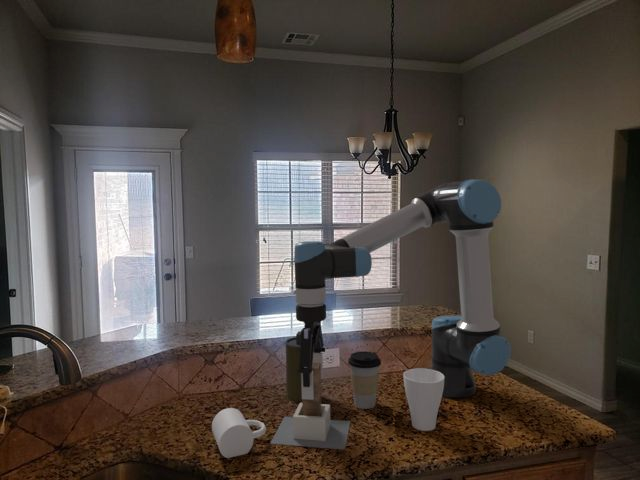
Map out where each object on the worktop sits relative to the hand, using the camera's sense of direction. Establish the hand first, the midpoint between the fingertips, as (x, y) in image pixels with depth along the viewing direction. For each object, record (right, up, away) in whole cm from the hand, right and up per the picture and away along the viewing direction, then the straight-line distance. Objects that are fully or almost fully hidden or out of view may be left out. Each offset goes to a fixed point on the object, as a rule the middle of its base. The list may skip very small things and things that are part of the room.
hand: (313, 387), depth 109 cm
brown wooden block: (0, -10, 0) cm, 10 cm away
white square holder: (0, -11, +1) cm, 11 cm away
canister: (-3, -11, +23) cm, 26 cm away
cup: (+29, -12, +5) cm, 32 cm away
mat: (0, -12, +1) cm, 12 cm away
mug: (-17, -13, -5) cm, 22 cm away
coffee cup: (+15, -11, +16) cm, 25 cm away
